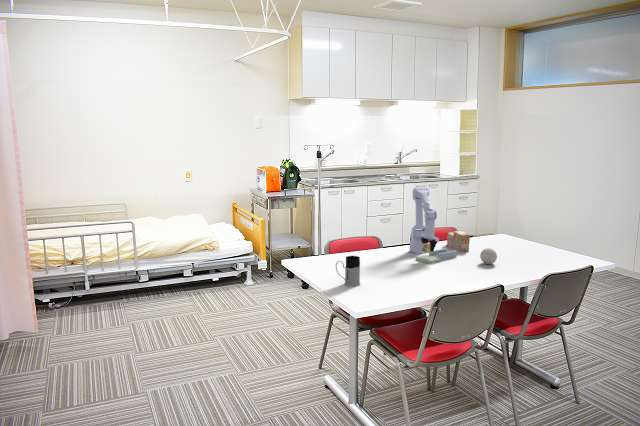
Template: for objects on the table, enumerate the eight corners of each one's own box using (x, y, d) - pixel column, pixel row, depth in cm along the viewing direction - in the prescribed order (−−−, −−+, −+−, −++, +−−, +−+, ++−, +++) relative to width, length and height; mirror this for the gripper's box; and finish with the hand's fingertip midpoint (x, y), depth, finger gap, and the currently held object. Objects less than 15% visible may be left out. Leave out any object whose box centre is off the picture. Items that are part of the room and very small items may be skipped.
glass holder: (363, 285, 280) (363, 258, 277) (338, 288, 275) (338, 261, 273) (356, 281, 288) (357, 254, 286) (332, 283, 283) (333, 256, 281)
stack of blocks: (446, 245, 374) (447, 228, 372) (454, 244, 376) (455, 228, 374) (460, 252, 354) (461, 234, 352) (469, 252, 355) (470, 234, 353)
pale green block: (415, 260, 333) (416, 253, 332) (444, 254, 348) (444, 247, 348) (429, 264, 323) (430, 257, 323) (458, 257, 339) (458, 251, 338)
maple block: (422, 251, 330) (422, 243, 329) (427, 250, 333) (427, 242, 332) (427, 253, 326) (428, 245, 325) (433, 252, 329) (433, 244, 328)
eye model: (481, 265, 321) (482, 250, 319) (478, 261, 331) (479, 246, 329) (497, 266, 320) (499, 250, 318) (494, 262, 329) (495, 246, 328)
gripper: (416, 228, 331) (415, 248, 333) (434, 232, 319) (433, 253, 322) (424, 227, 335) (423, 247, 337) (441, 231, 323) (440, 252, 326)
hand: (428, 250), depth 330 cm, fingers closed on maple block, 5 cm apart
